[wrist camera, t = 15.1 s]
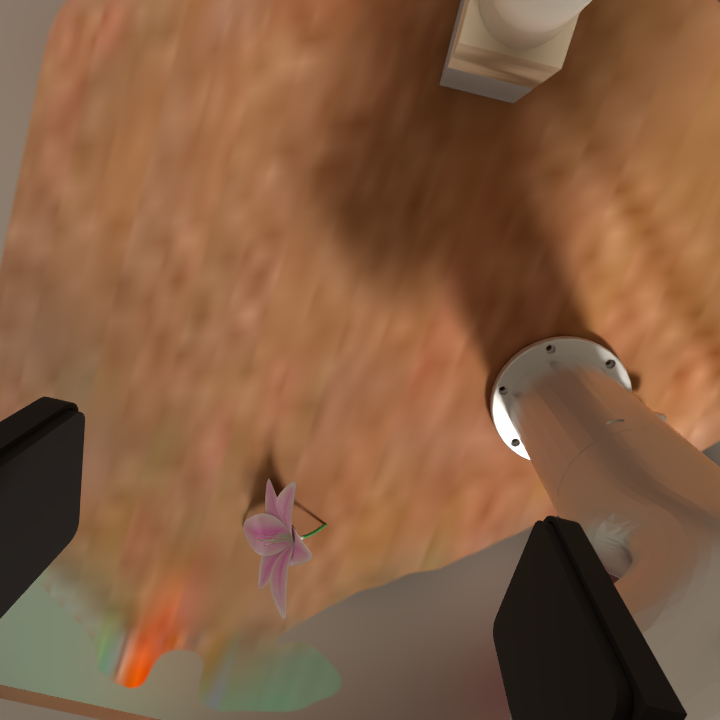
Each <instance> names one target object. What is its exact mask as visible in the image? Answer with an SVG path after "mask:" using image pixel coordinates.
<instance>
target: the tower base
mask: <svg viewBox="0 0 720 720" xmlns="http://www.w3.org/2000/svg"><path fill="white" fill-rule="evenodd" d="M464 1H465V0H461V1H460V5H459V9H458V13H457V17H456V21H455V25H454V29H453V33H452V37H451V41H450V45H449V49H448V53H447V57H446V61H445V65H444V69H443V72H442V76H441V80H440V84H439V85H441V86H445V87H449V88H453V89H457V90H461V91H465V92H469V93H473V94H477V95H481V96H485V97H489V98H493V99H497V100H501V101H505V102H509V103H514V102H516V101H517V100H519V99H520V98H522V97H523V96H524V95H526V94H527V93H529V92H530V91H532V90H533V89H532V88H528V87H524V86H520V85H516V84H512V83H508V82H504V81H500V80H496V79H492V78H488V77H484V76H480V75H476V74H472V73H468V72H464V71H460V70H457V69H453V68H449V67H448V64H449V60H450V56H451V52H452V48H453V44H454V40H455V36H456V32H457V29H458V25H459V21H460V17H461V13H462V9H463V5H464Z"/></svg>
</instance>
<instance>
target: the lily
mask: <svg viewBox="0 0 720 720" xmlns="http://www.w3.org/2000/svg"><path fill="white" fill-rule="evenodd" d="M295 490H296V482H295V481H292V482H291V483H289V484H288V485H287V486H286V487H285V488H284V489H283V490H282V491H281V493H280V494H279V496H278V497H277V496H276V494H275V491H274V488H273V486H272V483H271V481H270V479H268V481H267V485H266V495H265V512H266V514H265V513H261V514H256V515H254V516H252V517H250V518H248V519H247V520H246V521H245V522H244V525H243V530H244V534H245V536H246V539H247V541H248V542H249V544H250V546H251V547H252V548H253V550H254V551H255V552H256V553H258V554H259V555H262V557H261V561H260V568H259V579H258V583H259V589H260V590H261V589H262V588H264V587H265V586H266V585H267V584H268V583H269V581H270V588H271V593H272V596H273V599H274V602H275V605H276V607H277V609H278V611H279V613H280V615H281V617H282V618H283V619H284V620H285V618H286V585H287V575H288V569H289V564H290V565H292V566H295V565H299V564H303V563H305V562H308V561H309V560H311V559H312V554H311V552H310V551H309V549H308V548H307V547H306V545H305V544H304V543H303V541H302V539H304V538H307V537H309V536H312V535H314V534H315V533H317V532H318V531H320V530H321V529H323V528H324V527H326V526H327V524H326V523H325V524H323V525H322V526H321V527H319V528H318V529H316V530H315V531H313V532H311V533H309V534H307V535H303V536H299V535H298V533H297V532H296V530H295V528H294V527H293V525H292V511H293V504H294V497H295ZM292 552H293V554H292ZM291 554H292V557H291ZM290 559H291V560H290Z"/></svg>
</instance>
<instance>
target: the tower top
mask: <svg viewBox="0 0 720 720" xmlns="http://www.w3.org/2000/svg"><path fill="white" fill-rule="evenodd" d="M579 13H580V12H579ZM579 13H578V14H577V15H576V16H575V17H574V18H573V19H572V20H571V21H570V22H569V23H568V24H567V25H566V26H565V27H564V28H563V29H561V30H560V31H559V32H558V33H557V34H556V35H555V36H554V37H553V38H552V39H550V40H549V41H548V42H546V43H544V44H542V45H540V46H538V47H535V48H531V49H513V48H509V47H506V46H504V45H502V44H501V43H499V42H498V41H496V40H495V39H494V38H493V37H492V36H491V35H490V33H489V32H488V31H487V29H486V27H485V25H484V23H483V20H482V18H481V14H480V8H479V0H465V1H464V5H463V9H462V13H461V17H460V21H459V25H458V29H457V32H456V36H455V40H454V44H453V48H452V52H451V56H450V60H449V64H448V67H449V68H453V69H457V70H460V71H464V72H468V73H472V74H476V75H480V76H484V77H488V78H492V79H496V80H500V81H504V82H508V83H512V84H516V85H520V86H524V87H528V88H532V89H534V88H535V87H537V86H538V85H540V84H541V83H542V82H544V81H545V80H547V79H548V78H549V77H551V76H552V75H554V74H555V73H556V72H558V71H559V70H561V69H562V66H563V63H564V60H565V57H566V54H567V51H568V47H569V44H570V41H571V38H572V35H573V32H574V29H575V26H576V23H577V20H578V16H579Z"/></svg>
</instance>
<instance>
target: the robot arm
mask: <svg viewBox="0 0 720 720" xmlns="http://www.w3.org/2000/svg"><path fill="white" fill-rule="evenodd" d="M549 345H550V348H549V349H546V347H547V346H549ZM608 360H609V362H608V363H606V362H607V361H608ZM502 386H504V388H503V389H499V388H500V387H502ZM490 412H491V416H492V420H493V424H494V426H495V428H496V431H497V432H498V434H499V436H500V437H501V439H502V440H503V442H504V443H505V444H506V445H507V446H508V447H509V448H510V449H511V450H512V451H514V452H515V453H517V454H518V455H520V456H521V457H524V458H526V459H528V460H530V461H531V462H532V464H533V466H534V468H535V470H536V472H537V474H538V475H539V477H540V479H541V481H542V483H543V485H544V487H545V489H546V491H547V493H548V495H549V497H550V499H551V501H552V503H553V505H554V507H555V508H556V510H557V512H558V514H559V516H560V518H558V517H554V516H547V517H546V518H545V519H544V521H540V520H539V521H537V522H536V523H535V525H534V527H533V529H532V531H531V534H530V536H529V539H528V541H527V543H526V546H525V548H524V551H523V553H522V555H521V558H520V560H519V563H518V565H517V567H516V570H515V572H514V575H513V577H512V579H511V582H510V584H509V587H508V589H507V592H506V594H505V596H504V599H503V601H502V604H501V606H500V608H499V611H498V613H497V616H496V618H495V621H494V628H493V637H494V643H495V647H496V652H497V656H498V661H499V665H500V669H501V674H502V678H503V683H504V687H505V691H506V696H507V700H508V705H509V709H510V717H511V720H720V467H718V466H717V465H716V464H715V463H713V462H712V461H711V460H710V459H708V458H707V457H706V456H705V455H704V454H703V453H701V452H700V451H699V450H698V449H697V448H696V447H694V446H693V445H692V444H691V443H690V442H688V441H687V440H686V439H685V438H684V437H683V436H681V435H680V434H679V433H678V432H677V431H675V430H674V429H673V428H672V427H671V426H670V425H668V424H667V423H666V416H665V415H664V414H662V413H658V412H654V411H652V410H651V409H650V408H648V407H647V406H646V405H645V404H644V403H642V402H641V401H640V400H639V399H638V398H637V397H635V396H634V395H633V392H632V386H631V380H630V378H629V375H628V373H627V370H626V369H625V367H624V366H623V364H622V363H621V361H620V360H619V359H618V358H617V357H616V356H615V355H614V354H613V353H612V352H610V351H609V350H608V349H606V348H605V347H603V346H602V345H600V344H598V343H596V342H593V341H591V340H589V339H585V338H580V337H575V336H558V337H550V338H547V339H543V340H540V341H537V342H535V343H533V344H531V345H529V346H527V347H525V348H523V349H522V350H520V351H519V352H518V353H516V354H515V355H514V356H513V357H512V358H511V359H510V360H509V361H508V362H507V363H506V364H505V365H504V366H503V368H502V369H501V371H500V372H499V374H498V376H497V377H496V380H495V382H494V385H493V387H492V392H491V397H490ZM84 428H85V416H84V414H83V413H82V412H78V407H77V405H76V404H75V403H71V402H67V401H63V400H59V399H54V398H50V397H42V398H40V399H38V400H36V401H35V402H33V403H31V404H30V405H28V406H26V407H25V408H23V409H21V410H20V411H18V412H16V413H14V414H13V415H11V416H9V417H8V418H6V419H4V420H3V421H1V422H0V618H1V617H2V616H3V615H4V614H5V613H6V612H7V611H8V610H9V608H10V607H11V606H12V605H13V604H14V603H15V602H16V601H17V600H18V598H20V596H21V595H22V594H23V593H24V592H25V591H26V590H27V589H28V588H29V586H30V585H31V584H32V583H33V582H34V581H35V580H36V579H37V578H38V577H39V576H40V574H41V573H42V572H43V571H44V570H45V569H46V568H47V567H48V566H49V565H50V563H51V562H52V561H53V560H54V559H55V558H56V557H57V556H58V555H59V554H60V553H61V551H62V550H63V549H64V548H65V547H66V546H67V545H68V544H69V543H70V541H71V540H72V539H73V537H74V535H75V533H76V531H77V528H78V525H79V514H80V496H81V479H82V462H83V445H84ZM513 439H515V440H513ZM607 572H608V573H610V574H612V575H614V576H617V577H619V578H620V579H619V580H618V581H617V582H616V583H615V584H614V583H613V582H612V580H611V578H610V576H609V575H608V573H607ZM0 720H159V719H154V718H149V717H145V716H141V715H136V714H132V713H127V712H123V711H118V710H114V709H109V708H104V707H100V706H95V705H91V704H86V703H82V702H76V701H72V700H67V699H63V698H59V697H54V696H49V695H45V694H40V693H36V692H31V691H26V690H22V689H17V688H13V687H8V686H4V685H0Z"/></svg>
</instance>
